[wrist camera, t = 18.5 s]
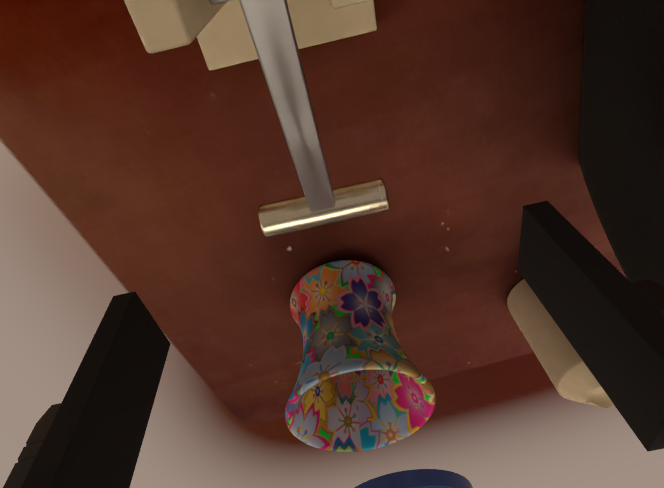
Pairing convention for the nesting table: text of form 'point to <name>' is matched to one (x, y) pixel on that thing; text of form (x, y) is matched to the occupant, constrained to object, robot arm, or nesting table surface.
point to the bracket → (242, 25)
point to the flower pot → (625, 129)
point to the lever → (300, 131)
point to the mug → (353, 363)
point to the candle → (554, 349)
